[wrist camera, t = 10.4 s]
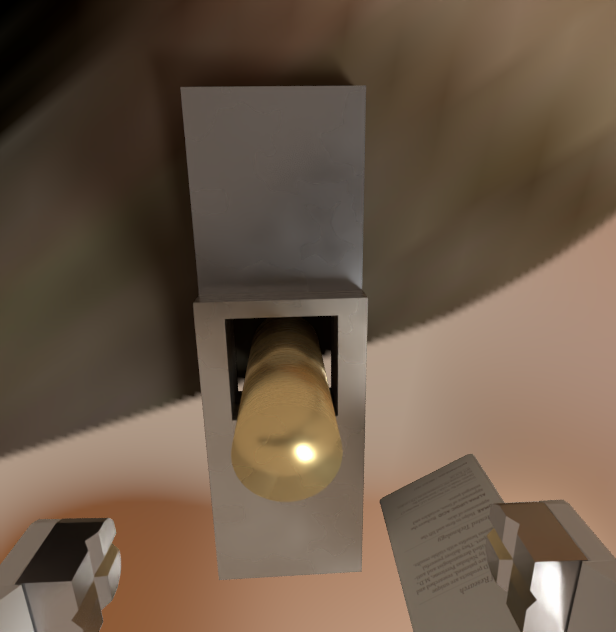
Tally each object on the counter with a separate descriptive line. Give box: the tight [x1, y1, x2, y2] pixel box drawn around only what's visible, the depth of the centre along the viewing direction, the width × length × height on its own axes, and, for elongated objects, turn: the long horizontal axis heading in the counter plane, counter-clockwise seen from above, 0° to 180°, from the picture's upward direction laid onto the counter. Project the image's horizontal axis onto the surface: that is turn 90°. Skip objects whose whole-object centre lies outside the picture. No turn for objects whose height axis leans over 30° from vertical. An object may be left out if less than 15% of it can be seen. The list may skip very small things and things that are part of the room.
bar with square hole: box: [180, 86, 368, 580], centre depth 20 cm, size 7×22×3 cm, turn 1°
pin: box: [231, 317, 343, 502], centre depth 17 cm, size 3×3×9 cm
